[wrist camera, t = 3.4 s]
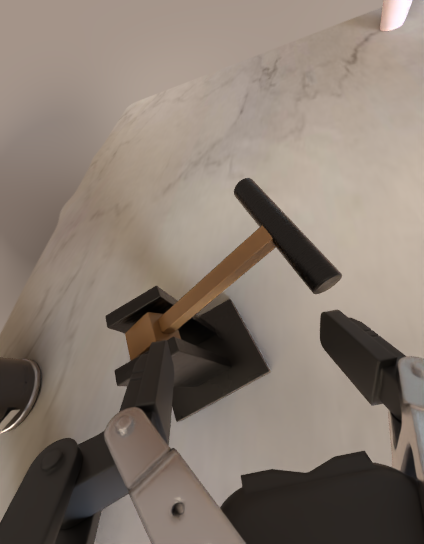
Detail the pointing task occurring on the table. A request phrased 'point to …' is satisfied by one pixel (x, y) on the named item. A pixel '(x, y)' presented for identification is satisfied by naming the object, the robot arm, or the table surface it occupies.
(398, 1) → the smoothie
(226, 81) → the table surface
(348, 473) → the robot arm
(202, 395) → the bracket
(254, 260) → the lever
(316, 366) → the table surface
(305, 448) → the table surface
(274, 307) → the table surface
